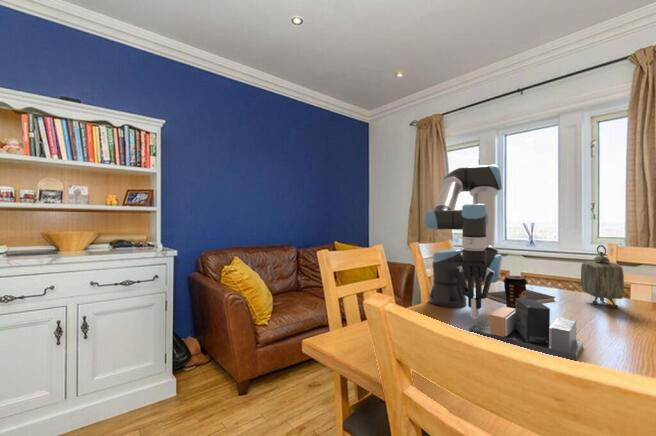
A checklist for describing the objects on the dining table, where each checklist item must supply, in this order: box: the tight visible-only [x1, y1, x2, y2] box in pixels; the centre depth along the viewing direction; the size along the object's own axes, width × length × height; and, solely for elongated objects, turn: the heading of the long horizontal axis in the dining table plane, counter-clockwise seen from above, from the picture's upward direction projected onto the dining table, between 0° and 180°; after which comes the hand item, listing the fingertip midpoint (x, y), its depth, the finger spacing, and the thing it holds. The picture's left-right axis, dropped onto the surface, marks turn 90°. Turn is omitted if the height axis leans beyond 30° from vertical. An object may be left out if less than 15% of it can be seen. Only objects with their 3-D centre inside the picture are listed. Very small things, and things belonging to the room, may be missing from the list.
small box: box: [515, 298, 551, 344], centre depth 96 cm, size 11×6×10 cm, turn 166°
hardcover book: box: [486, 288, 556, 304], centre depth 144 cm, size 16×23×2 cm
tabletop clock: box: [580, 244, 625, 309], centre depth 132 cm, size 14×9×25 cm, turn 162°
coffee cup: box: [502, 275, 529, 309], centre depth 129 cm, size 9×8×13 cm
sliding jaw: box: [489, 306, 515, 337], centre depth 102 cm, size 5×12×6 cm, turn 135°
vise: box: [468, 316, 584, 362], centre depth 98 cm, size 28×12×8 cm, turn 45°
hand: (474, 317), depth 109 cm, fingers closed
